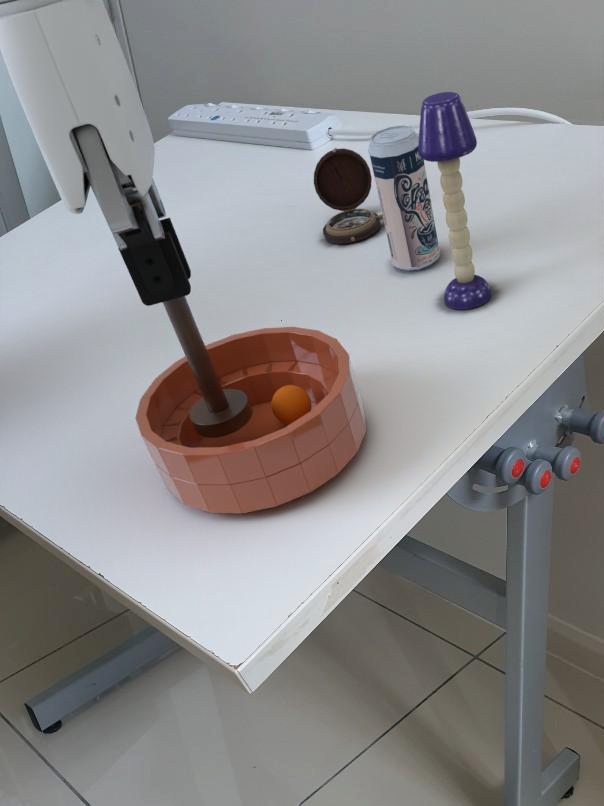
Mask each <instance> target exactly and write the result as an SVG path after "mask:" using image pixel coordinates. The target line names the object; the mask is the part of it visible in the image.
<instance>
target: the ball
mask: <svg viewBox="0 0 604 806" xmlns="http://www.w3.org/2000/svg"><path fill="white" fill-rule="evenodd" d="M271 407H272V411H273V414H274V415H275V417H276V418H277V419H278V420H279V421H280V422H282V423H284V424H287V425H290V424H291V423H293V422H294V421H296V420H298V419H299V418H301V417H302V416H304V415H306V414H307V413H309V412H310V411H311V400H310V397H309V395H308V394H307V392H306V391H305V390H304V389H302V388H301V387H298V386H295V385H287V386H283V387H281V388H280V389H278V390H277V391H276V393H275V394H274V396H273V398H272V402H271Z"/></svg>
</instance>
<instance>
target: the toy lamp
mask: <svg viewBox="0 0 604 806" xmlns="http://www.w3.org/2000/svg"><path fill="white" fill-rule="evenodd" d="M419 120H420V121H419V130H418V136H419V144H418V152H419V156H420V157H421V158H422V159H423V160H424V161H427V162H431V163H437V168H438V170H439V172H440V179H439V181H440V188H441V189H442V191H443V195H442V196H443V197H442V202H443V203H442V204H443V207H444V209H445V210H446V212H445V222H446V223H445V224H446V225H447V228H448V229H449V230H448V240H449V241H448V242H449V243H450V245H451V259H452V262H453V263H454V269H453V272H454V276H455V277H454V278H453V279H452V280H450V281H449V283H448V284H447V286H446V288H445V290H444V296H443V301H444V304H445V306H446V307H448V308H450V309H453V310H470V309H475V308H478V307H479V306H482V305H484V304H485V303H488V301H489V300H490V299H491V297H492V295H493V292H492V289H491V286H490V284H489V282H488V281H487V279H485V278H483V277H482V276H480V275H478V274H475V273H476V269H475V265H474V263H473V261H472V260H473V249H472V246H471V244H470V241H471V233H470V232H471V231H470V230H469V228H468V226H467V225H468V213H467V211H466V209H465V203H466V199H465V193H464V191H463V190H462V188H463V176H462V173H461V172H460V167H461V159H460V158H462V157H465V156H468V155H470V154H471V153H473V152H474V151H475V149H476V148H477V145H478V141H477V136H476V134H475V131H474V129H473V126H472V123H471V120H470V117H469V115H468V113H467V109H466V106H465V105H464V102H463V100H462V98H461V96H460V95H459V94H458V92H454V91H443V92H437V93H434V94H431V95H428V96H427V97H425V98H424V99H422V102H421V106H420V119H419Z"/></svg>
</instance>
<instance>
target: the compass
mask: <svg viewBox="0 0 604 806" xmlns="http://www.w3.org/2000/svg"><path fill="white" fill-rule="evenodd" d="M372 179H373V178H372V173H371V169H370V166H369V165H368V163H367V160H365V159H364V157H362V155H361V154H359V153H358V152H356V151H354V150H353V149H348V148H337V147H335V148H333V149H331V150H330V151H327V152H326V153H325V154H323V156H321V157H320V159H319V160H318V162H317V163H316V165H315V169H314V172H313V186H314V190H315V193H316V195H317V196H318V198H319V200H320V201H322V203H323V204H324V205H325V206H327V207H329V208H331V209H333V210H336V211H340V212H337V213H336V214H335V215H334V216H331V218H330V219H328V221H327V223H326V224H325V225H324V226H323V228H322V234H323V237H324V238H325V240H326V241H328V242H330V243H332V244H351V243H356V242H359V241H363V240H365V239H367V238H369V237H371V236H372V235H374V234H375V233H376V232H377V231H378V230H379V229H380V227H381V225H382V224H381V221H382V220H383V221H384V219H383V214H382V213H380V214H378V213H376V212H374V211H372V210H369V209H367V208H359V207H360V206H361V205H362V204H363V203H364V202H365V201H366V200H367V198H368V197H369V195H370V192H371V189H372Z"/></svg>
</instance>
